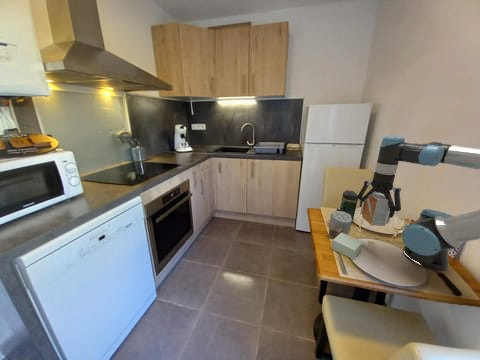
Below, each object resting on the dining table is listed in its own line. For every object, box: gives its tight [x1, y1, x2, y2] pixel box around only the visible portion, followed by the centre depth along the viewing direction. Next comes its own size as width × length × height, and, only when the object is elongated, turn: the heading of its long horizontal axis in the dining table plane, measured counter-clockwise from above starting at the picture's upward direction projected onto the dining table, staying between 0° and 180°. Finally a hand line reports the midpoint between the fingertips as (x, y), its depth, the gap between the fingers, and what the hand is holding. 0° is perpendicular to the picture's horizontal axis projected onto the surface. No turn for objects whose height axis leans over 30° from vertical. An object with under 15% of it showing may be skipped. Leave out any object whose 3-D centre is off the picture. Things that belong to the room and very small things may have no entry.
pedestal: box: [330, 233, 364, 260], centre depth 95 cm, size 10×10×5 cm
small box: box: [361, 192, 393, 227], centre depth 92 cm, size 8×6×13 cm
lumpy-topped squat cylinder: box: [329, 210, 353, 235], centre depth 113 cm, size 10×13×9 cm
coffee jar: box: [339, 189, 359, 223], centre depth 120 cm, size 10×8×19 cm
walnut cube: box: [327, 225, 342, 240], centre depth 105 cm, size 5×5×5 cm
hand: (373, 218), depth 93 cm, fingers closed on small box, 10 cm apart
